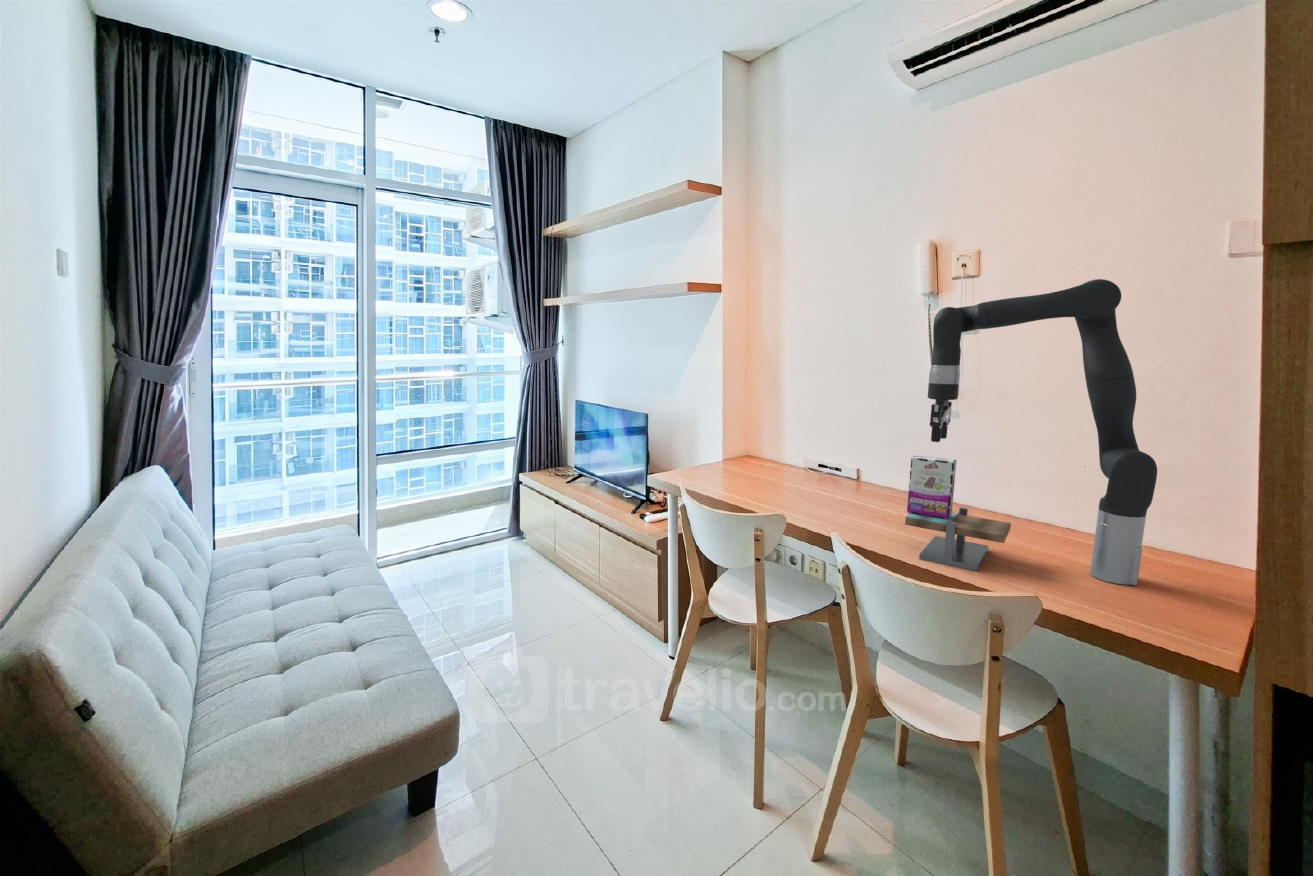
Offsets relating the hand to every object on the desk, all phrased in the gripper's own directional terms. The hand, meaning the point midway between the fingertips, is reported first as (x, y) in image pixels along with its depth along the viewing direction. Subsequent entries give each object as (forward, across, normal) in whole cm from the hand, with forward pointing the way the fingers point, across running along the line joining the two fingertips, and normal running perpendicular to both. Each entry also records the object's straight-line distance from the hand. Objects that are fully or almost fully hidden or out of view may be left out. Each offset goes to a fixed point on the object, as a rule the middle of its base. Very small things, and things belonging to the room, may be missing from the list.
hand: (938, 440), depth 158 cm
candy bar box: (+22, 0, +1) cm, 22 cm away
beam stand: (+32, 0, -6) cm, 33 cm away
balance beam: (+23, 0, -6) cm, 24 cm away
